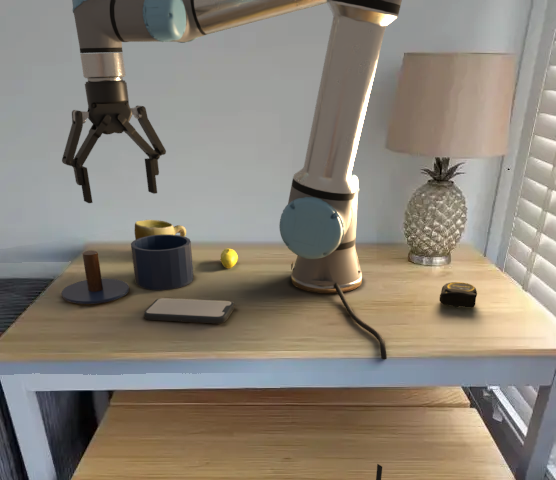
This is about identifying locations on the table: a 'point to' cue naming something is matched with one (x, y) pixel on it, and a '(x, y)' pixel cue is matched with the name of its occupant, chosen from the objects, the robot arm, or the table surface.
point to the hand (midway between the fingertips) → (121, 197)
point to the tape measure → (458, 295)
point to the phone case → (189, 310)
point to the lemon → (228, 258)
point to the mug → (157, 228)
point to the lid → (94, 284)
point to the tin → (162, 261)
